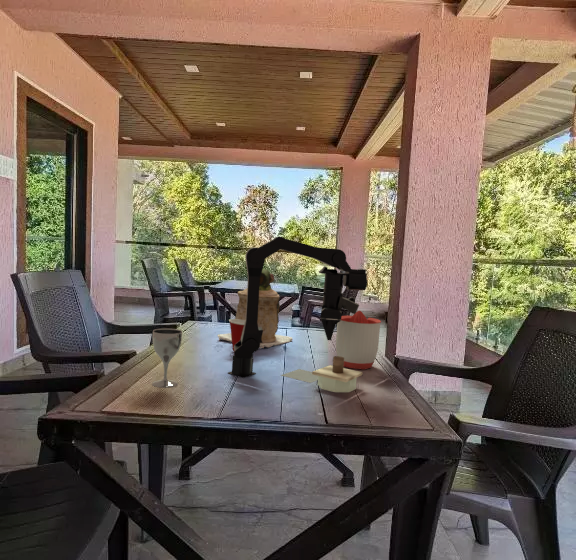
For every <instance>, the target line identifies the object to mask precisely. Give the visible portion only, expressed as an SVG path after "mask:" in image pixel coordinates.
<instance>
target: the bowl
mask: <svg viewBox="0 0 576 560" xmlns="http://www.w3.org/2000/svg"><path fill="white" fill-rule="evenodd" d="M317 386H318V387H319V388H320V389H322V390H324V391H328V392H332V393H351V392H352V391H354V390H356V388H357V378H354V379H352V380H350V381H348V382H342V381H338V380H334V379H330V378H325V377H321V376H318V380H317Z"/></svg>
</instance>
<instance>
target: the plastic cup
mask: <svg viewBox="0 0 576 560" xmlns="http://www.w3.org/2000/svg"><path fill="white" fill-rule="evenodd" d="M228 321H229V327H230V333H231V338H232V342H231V343H232V345H231V346H232V351H233V353H234V345H235V344H236V343H237V342H239V341H240V340H241V336H242V332H243V328H244V324H245V320H240V319H235V318H230V319H228Z"/></svg>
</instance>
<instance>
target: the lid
mask: <svg viewBox="0 0 576 560" xmlns="http://www.w3.org/2000/svg"><path fill="white" fill-rule="evenodd" d="M311 372H312V374H313V375H317V376H321V377H325V378H330V379H334V380H338V381H342V382H348V381H350V380H352V379H354V378H356V379H357V378H359V377H361V376H363V372H362V371H358V370H355V369H351V368H350V369H348V368H346V367H344V357H341V356H337V355H334V356H333V359H332V365H327V366H324V367H321V368H319V369H316V370H313V371H311Z"/></svg>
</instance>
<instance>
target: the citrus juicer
mask: <svg viewBox="0 0 576 560" xmlns="http://www.w3.org/2000/svg"><path fill="white" fill-rule="evenodd" d="M381 323H382V321H381V320H380V319H378V318H374V317H368V318H367V317H366V315H365V314H364V313H363V312H362V310H357V311H356V314H353V315H342V318H341V321H340V322H338V323H337V324H336V337H335V351H336V356H341V357H344V368H347V369H348V368H350V369H353V370H355V369H356V370H363V371H365V370H367V369H368V370H369V369H371V368H372V367H373V365H374V363H375V360H376V358H377V354H378V350H379V343H380V330H381Z"/></svg>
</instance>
